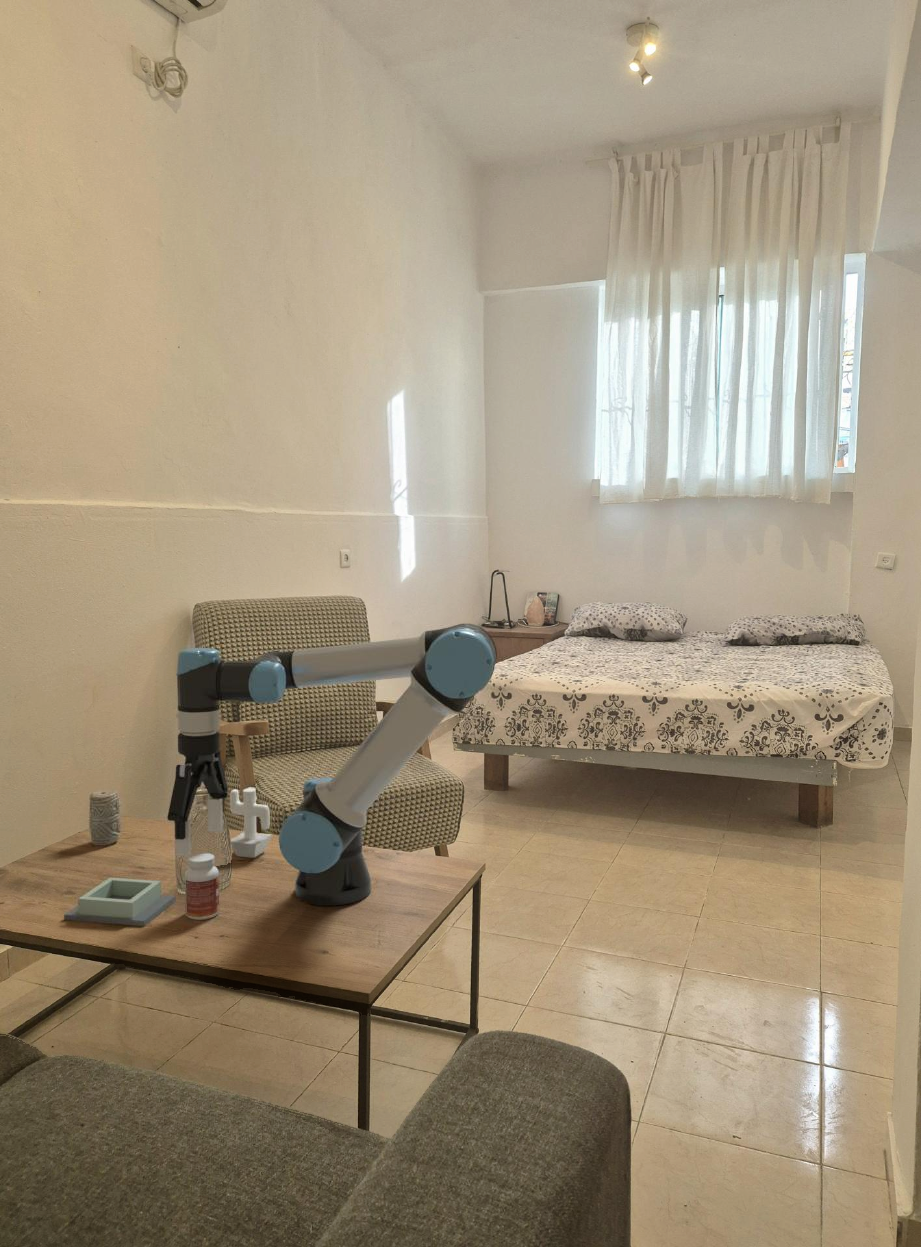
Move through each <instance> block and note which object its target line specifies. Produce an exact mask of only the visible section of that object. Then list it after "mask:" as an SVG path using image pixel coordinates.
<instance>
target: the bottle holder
mask: <svg viewBox="0 0 921 1247" xmlns="http://www.w3.org/2000/svg"><path fill="white" fill-rule="evenodd" d="M77 901H78V904H77V905H76V906H75V907H73V908H72V909H70V910H68V912H66V913H64V914H63V916H64V917H63V920H65V921H73V922H87V923H98V924H110V925H111V924H112V925H123V926H124V925H125V926H137V927H146V926H147V925H148V924H150V922H151V921H152V920H154V919H155V918H156V917H158V916H159V915H160V914H161V913H163V912H164V911H165V910H166V909H167V908H169V906H171V905H172V904H174V903H175V902H176V895H171V894H169V895H167V894H162V881H161V880H150V879H136V878H135V879H134V878H124V877H122V878H120V877H108V878H107V879H105V880H104V881H103V882H101V883H100V884H98V885H97V886H95V887H93V888H92V889H91V890H90V891H88V892H86V893H85V894H83V895H82V896H80V897H79V898H78V900H77Z"/></svg>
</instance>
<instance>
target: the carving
mask: <svg viewBox="0 0 921 1247" xmlns="http://www.w3.org/2000/svg"><path fill="white" fill-rule="evenodd" d="M121 805H122V804H121V800H120V795H119V793H118V791H116V790H97V791H95V792H92V793H91V794H90V795H89V817H88V818H89V820H88V823H89V824H88V826H89V832H90V833H89V834H90V841H91V843H92V844H93V845H94V846H99V847H104V846H108V845H111V844H113V843H115V842H117V841H118V840H120V838H121V835H122V822H121V820H122V819H121V817H122V816H121V812H122V811H121V808H122V806H121Z"/></svg>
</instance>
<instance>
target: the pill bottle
mask: <svg viewBox="0 0 921 1247" xmlns="http://www.w3.org/2000/svg"><path fill="white" fill-rule="evenodd" d="M188 867H189V868H187V870H186V871H185V873H184V897H185V898H184V901H185V905H184V906H185V916H186V917H187V918H188V919H191V920H194V921H195V920H196V921H202V920H203V921H204V920H208V919H211V918H214V917H216V916H217V915H218V914H219V913H220V877H219V876H220V875H219V874H220V873H219V869H218V868H217V867H216V866H215V855H214V854H212V853H207V852H205V853H196V854H194V855H193V854H192V855H190V856H188Z"/></svg>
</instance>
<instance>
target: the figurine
mask: <svg viewBox="0 0 921 1247" xmlns="http://www.w3.org/2000/svg"><path fill="white" fill-rule="evenodd" d="M256 790H257V788H255V787H254V786H253V787H251V786H249V787H247V788H244V789H243V790H242V797H243V802H241V801H240V798H239V797H240V795H239V793H240V792H239V790H238V789H235V788H234V789H232V790H231V791H230V792H229V806H230V807H229V808H230V812H231V814H233V815H238V816H243V831H242V832H241V833H239V834H238V835H236V836H234V837H233V838H230V840H231V845H232V847H231V849H232V851H233V852H234V853H235V855H236V857H243V858H249V859H250V858H252V859H255V858H256V857H258V856H260V855H261V854H263V853H264V852H265V850H266V848H267V847H268V845H269V844H270V841H271V839H272V837H273V834H271V833H270V834H268V833H267V834H266V833H260V832H259V833H258V832H257V817H258V818H259V819H260V825H261V826H260V827H261V829H262V830H268V829H269V828H270V825H271V823H270V822H271V820H270V819H271V817H270V814H271V813H270V808H269V806H268V805H267V804H259V803H258V804H257V800H258V797H257V791H256Z"/></svg>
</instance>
